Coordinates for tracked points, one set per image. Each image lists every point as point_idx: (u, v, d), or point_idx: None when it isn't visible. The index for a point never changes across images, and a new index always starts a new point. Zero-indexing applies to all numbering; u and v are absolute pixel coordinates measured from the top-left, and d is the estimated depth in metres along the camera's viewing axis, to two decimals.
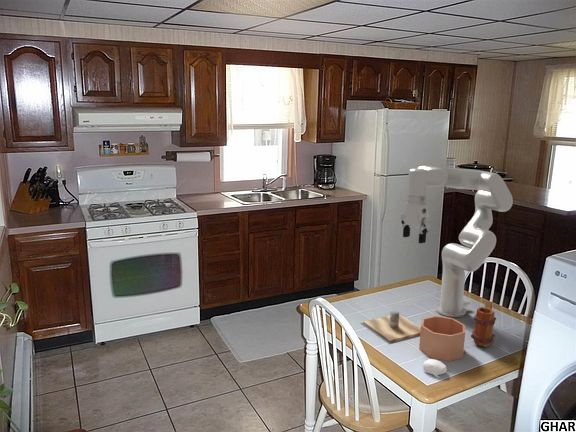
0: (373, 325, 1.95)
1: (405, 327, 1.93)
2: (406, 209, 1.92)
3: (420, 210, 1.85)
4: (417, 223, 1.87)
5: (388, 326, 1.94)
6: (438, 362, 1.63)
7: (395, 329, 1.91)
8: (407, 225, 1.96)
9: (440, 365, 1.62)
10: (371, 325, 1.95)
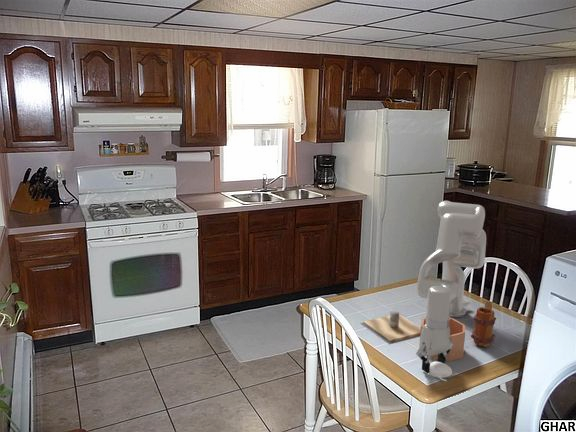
0: (373, 325, 1.95)
1: (405, 327, 1.93)
2: (433, 339, 1.58)
3: None
4: (448, 346, 1.62)
5: (388, 326, 1.94)
6: (443, 365, 1.61)
7: (395, 329, 1.91)
8: None
9: (445, 368, 1.60)
10: (371, 325, 1.95)
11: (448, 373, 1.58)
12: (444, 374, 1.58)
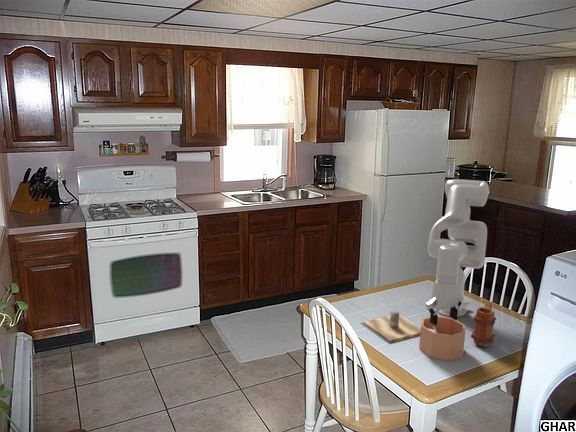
0: (373, 325, 1.95)
1: (405, 327, 1.93)
2: (444, 293, 1.70)
3: None
4: (457, 301, 1.74)
5: (388, 326, 1.94)
6: None
7: (395, 329, 1.91)
8: None
9: None
10: (371, 325, 1.95)
11: None
12: None
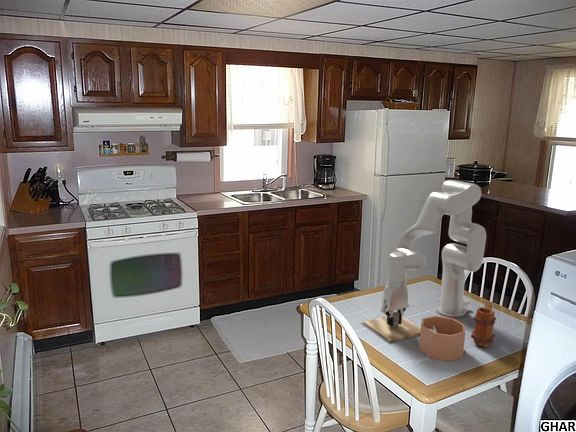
0: (373, 325, 1.95)
1: (405, 327, 1.93)
2: (393, 296, 1.88)
3: None
4: (406, 303, 1.92)
5: (388, 326, 1.94)
6: None
7: (395, 329, 1.91)
8: None
9: None
10: (371, 325, 1.95)
11: None
12: None
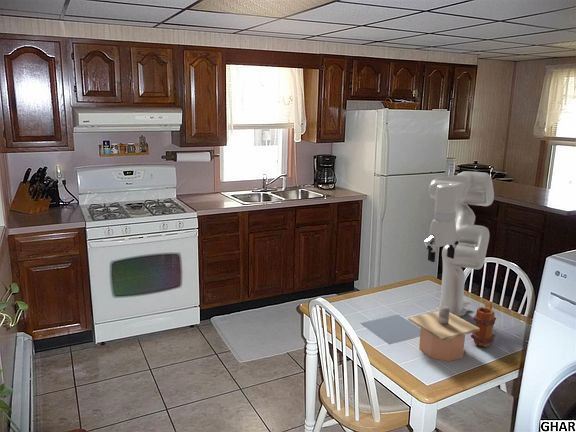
0: (420, 321, 1.77)
1: (456, 324, 1.75)
2: (441, 230, 1.76)
3: None
4: (454, 239, 1.80)
5: (437, 323, 1.76)
6: None
7: (445, 326, 1.73)
8: None
9: None
10: (418, 322, 1.77)
11: None
12: None
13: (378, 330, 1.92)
